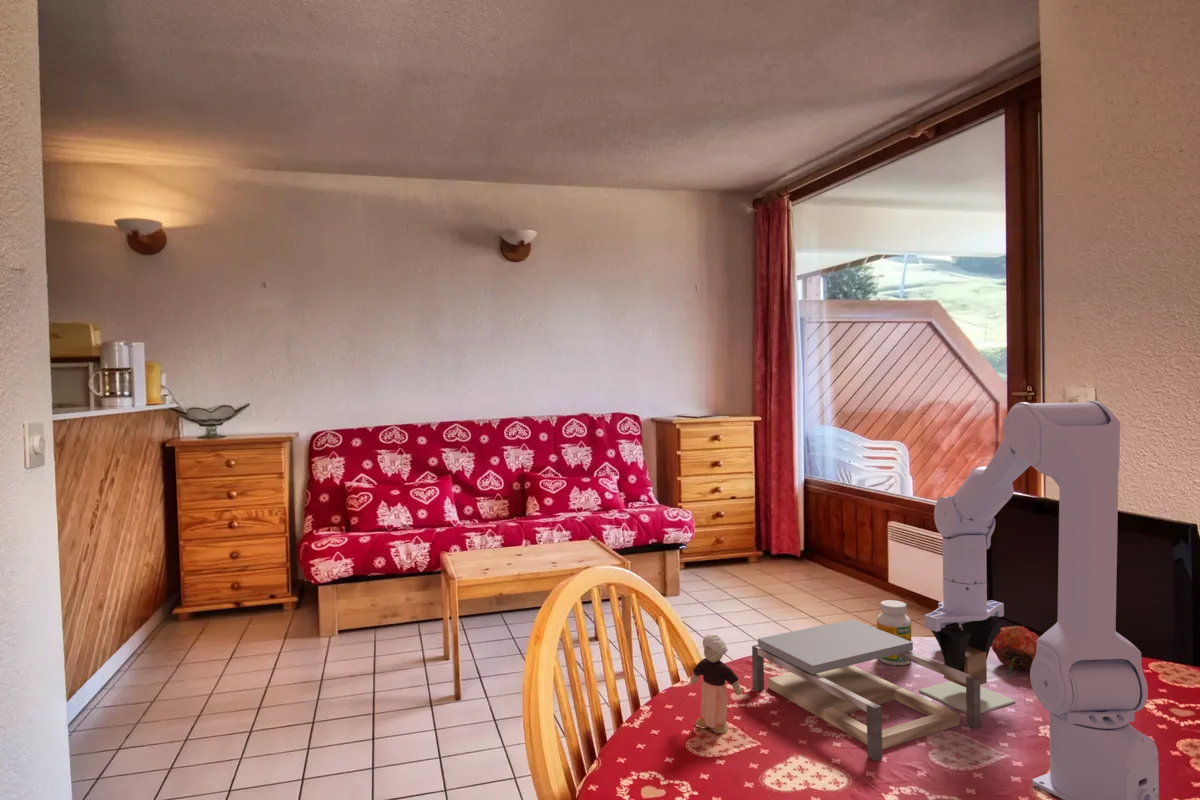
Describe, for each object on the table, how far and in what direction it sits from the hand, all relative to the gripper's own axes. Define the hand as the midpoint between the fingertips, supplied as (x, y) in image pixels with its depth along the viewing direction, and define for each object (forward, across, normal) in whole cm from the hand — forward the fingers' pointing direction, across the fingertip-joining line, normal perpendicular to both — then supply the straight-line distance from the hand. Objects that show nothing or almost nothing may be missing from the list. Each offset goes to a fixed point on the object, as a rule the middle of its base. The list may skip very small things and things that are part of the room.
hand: (965, 671), depth 104 cm
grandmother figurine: (+4, +38, -9) cm, 39 cm away
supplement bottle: (+4, -2, -15) cm, 16 cm away
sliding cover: (-3, +16, -10) cm, 19 cm away
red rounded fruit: (+4, -16, -3) cm, 17 cm away
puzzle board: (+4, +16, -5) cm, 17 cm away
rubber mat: (+4, 0, 0) cm, 4 cm away
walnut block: (+2, 0, 0) cm, 2 cm away
